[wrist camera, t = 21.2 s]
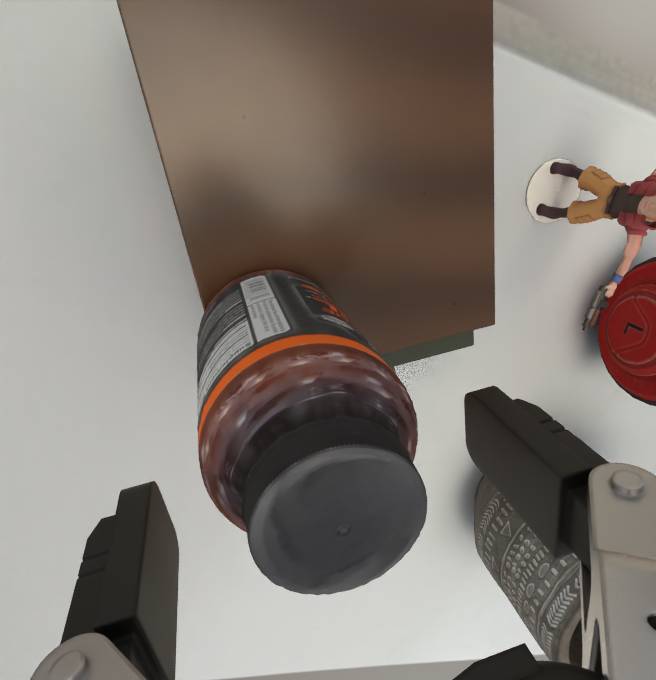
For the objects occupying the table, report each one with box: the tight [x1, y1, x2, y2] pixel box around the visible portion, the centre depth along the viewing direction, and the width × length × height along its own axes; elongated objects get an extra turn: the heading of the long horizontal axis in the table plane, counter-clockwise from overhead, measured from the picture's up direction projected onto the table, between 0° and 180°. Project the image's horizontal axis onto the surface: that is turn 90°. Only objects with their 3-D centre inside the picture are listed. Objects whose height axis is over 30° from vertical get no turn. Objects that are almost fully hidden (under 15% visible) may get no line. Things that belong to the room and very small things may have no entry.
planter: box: [474, 475, 583, 667], centre depth 35 cm, size 12×12×13 cm
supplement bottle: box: [197, 269, 427, 595], centre depth 15 cm, size 6×6×11 cm
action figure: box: [527, 158, 656, 330], centre depth 27 cm, size 12×3×9 cm, turn 169°
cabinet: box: [116, 0, 495, 354], centre depth 23 cm, size 15×13×9 cm
